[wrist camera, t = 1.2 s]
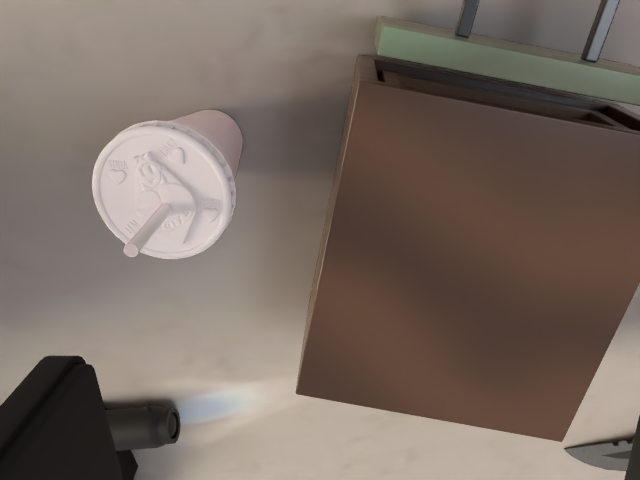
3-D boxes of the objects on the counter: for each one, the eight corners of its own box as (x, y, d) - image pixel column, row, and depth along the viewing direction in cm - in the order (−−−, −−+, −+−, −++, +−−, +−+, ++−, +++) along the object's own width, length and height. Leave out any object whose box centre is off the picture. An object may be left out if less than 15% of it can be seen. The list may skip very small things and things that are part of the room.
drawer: (399, -90, 27) (412, -110, 21) (670, -36, 27) (763, -40, 21) (324, 273, 36) (318, 334, 30) (531, 311, 36) (568, 380, 30)
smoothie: (186, 202, 35) (90, 327, 23) (141, 105, 33) (5, 184, 20) (280, 173, 34) (235, 287, 22) (241, 70, 32) (163, 130, 19)
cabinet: (358, 54, 31) (358, 80, 23) (617, 104, 31) (706, 147, 23) (308, 307, 38) (295, 394, 30) (519, 346, 38) (562, 442, 30)
